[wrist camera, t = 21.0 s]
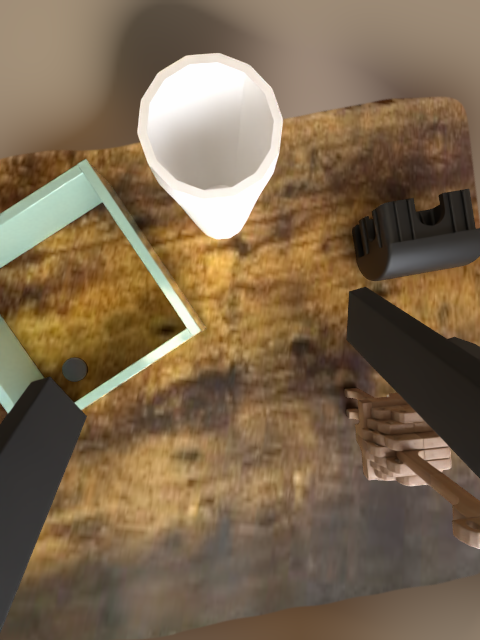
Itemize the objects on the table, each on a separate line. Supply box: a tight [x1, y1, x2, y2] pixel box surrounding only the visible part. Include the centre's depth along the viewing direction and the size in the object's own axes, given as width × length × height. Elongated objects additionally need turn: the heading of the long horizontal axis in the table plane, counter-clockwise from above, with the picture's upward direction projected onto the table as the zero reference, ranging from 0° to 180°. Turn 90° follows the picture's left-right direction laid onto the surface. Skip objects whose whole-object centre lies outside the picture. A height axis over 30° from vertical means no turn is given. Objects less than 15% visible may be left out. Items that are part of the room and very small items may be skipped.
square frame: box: [0, 159, 206, 413], centre depth 26 cm, size 20×20×5 cm
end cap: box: [352, 189, 480, 281], centre depth 26 cm, size 10×7×7 cm
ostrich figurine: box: [344, 388, 480, 548], centre depth 21 cm, size 17×7×18 cm, turn 95°
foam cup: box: [137, 53, 283, 239], centre depth 22 cm, size 10×9×13 cm
